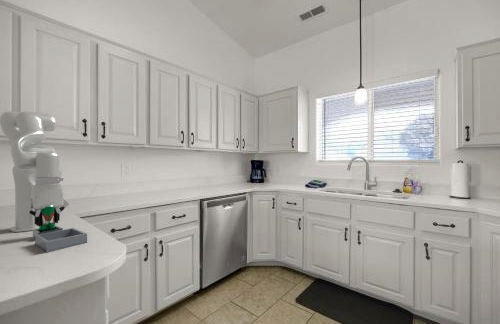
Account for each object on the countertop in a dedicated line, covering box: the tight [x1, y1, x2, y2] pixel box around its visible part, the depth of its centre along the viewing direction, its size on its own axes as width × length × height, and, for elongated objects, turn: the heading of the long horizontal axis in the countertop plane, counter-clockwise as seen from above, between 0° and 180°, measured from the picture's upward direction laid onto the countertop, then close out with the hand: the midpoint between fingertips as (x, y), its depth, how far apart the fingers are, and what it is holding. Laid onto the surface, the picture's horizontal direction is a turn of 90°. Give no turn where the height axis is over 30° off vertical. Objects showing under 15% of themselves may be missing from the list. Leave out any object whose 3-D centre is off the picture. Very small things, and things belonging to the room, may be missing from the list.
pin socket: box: [32, 225, 64, 239], centre depth 97 cm, size 8×8×3 cm
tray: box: [34, 227, 88, 253], centre depth 88 cm, size 14×12×4 cm
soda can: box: [39, 206, 56, 232], centre depth 97 cm, size 5×5×12 cm
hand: (47, 223), depth 97 cm, fingers closed on soda can, 5 cm apart
